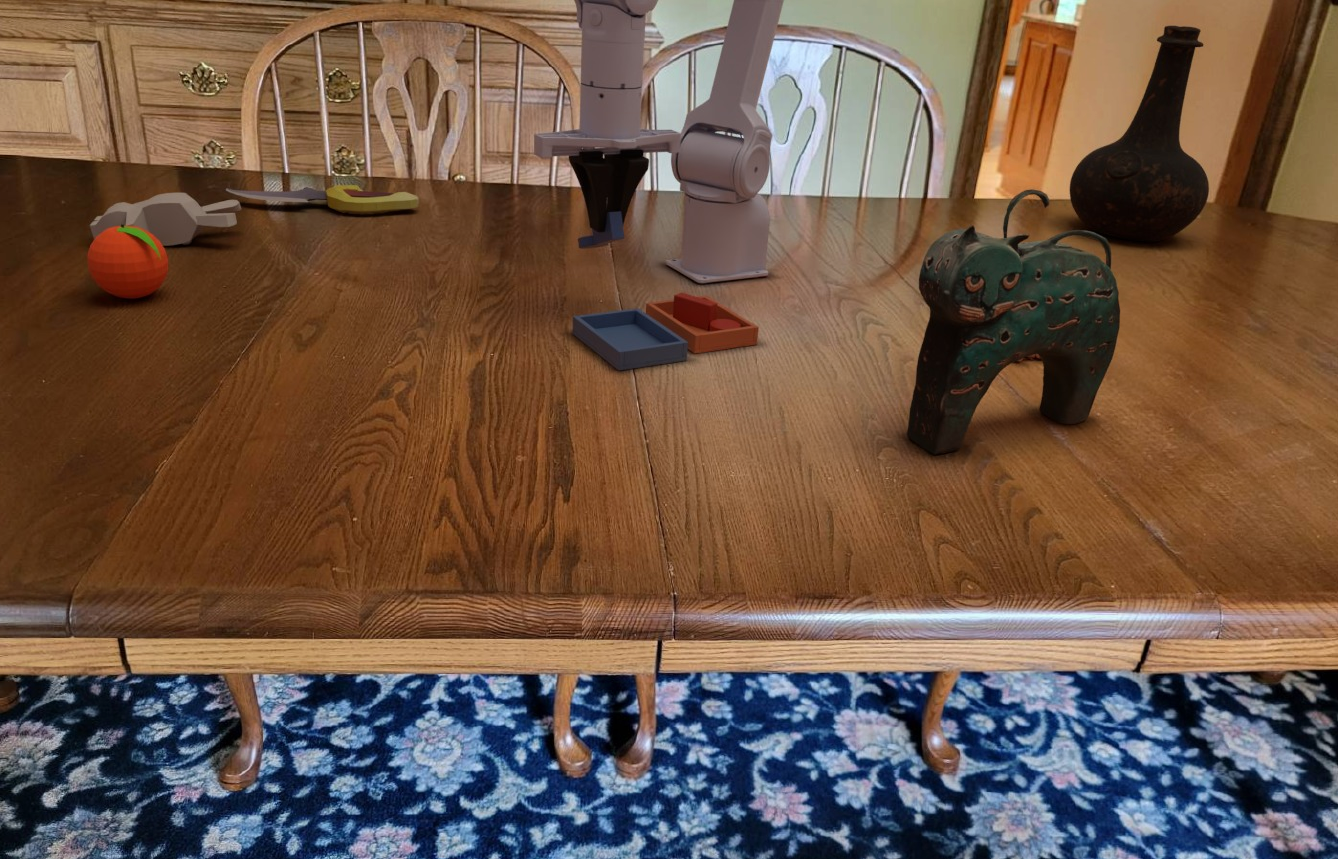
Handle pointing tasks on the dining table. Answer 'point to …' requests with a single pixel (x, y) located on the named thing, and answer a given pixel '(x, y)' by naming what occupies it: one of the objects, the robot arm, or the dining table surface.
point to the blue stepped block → (604, 233)
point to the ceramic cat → (1010, 326)
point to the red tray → (702, 338)
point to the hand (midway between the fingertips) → (605, 229)
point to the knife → (341, 198)
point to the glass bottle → (1147, 159)
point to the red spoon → (700, 313)
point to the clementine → (127, 262)
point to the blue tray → (629, 339)
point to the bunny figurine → (168, 217)
